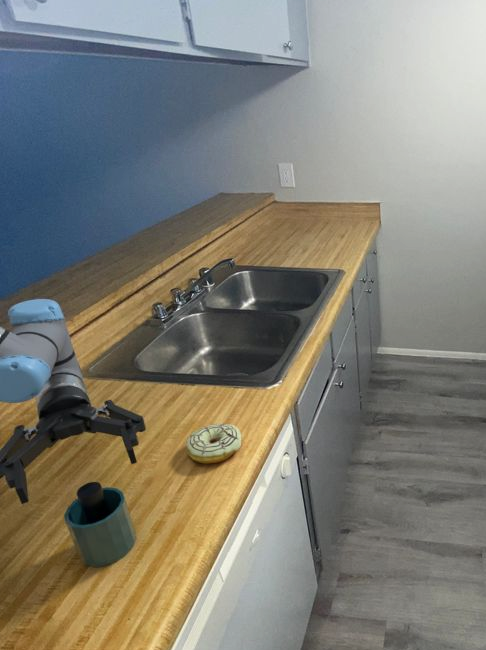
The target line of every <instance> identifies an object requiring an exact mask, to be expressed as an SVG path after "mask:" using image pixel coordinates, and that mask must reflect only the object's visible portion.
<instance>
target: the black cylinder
mask: <svg viewBox="0 0 486 650" xmlns="http://www.w3.org/2000/svg"><path fill="white" fill-rule="evenodd" d="M102 488H103V487H102V484H101V483H100V482H98V481H90V482H87V483H85V484H82V486H80V487H79V488H78V489H77V491H76V496H77V498H78V499H79V502H80V504H81V507H82V510H83V512H84V515H85V518H86V520H87V523H88V524H93V523H96V522H98V521H101V520H103V519H105V518H106V517H108V516H109V515H111V513H110V510H109V507H108V504H107V501H106V498H105V495H104V492H103V489H102Z"/></svg>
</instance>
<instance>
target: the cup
mask: <svg viewBox="0 0 486 650" xmlns="http://www.w3.org/2000/svg"><path fill="white" fill-rule="evenodd" d="M102 489H103V492H104V495H105V498H106V501H107V504H108V507H109V510H110V513H111V515H109V516H108V517H106V518H105V519H103V520H101V521H98V522H96V523H93V524H88V523H87V520H86V518H85V515H84V512H83V510H82V507H81V504H80V502H79V499H78V497H77V498H76V499H74V500H73V501H72V502H71V503H70V505H68V506H67V508H66V510H65V512H64V514H63V516H64V517H63V518H64V522H65V524H66V527H67V530H68V532H69V534H70V538H71V539H72V540H71V541H72V542H73V544H74V547H75V550H76V552H77V554H78V557H79V559H80V561H81V563H83V565H85V566H87V567H91V568H101V567H102V568H103V567H106V566H110V565H111V564H115V563H116V562H118V561H120V560H121V559H123V558H124V557H125V556H126V555H128V554H129V553H130V551H131V550H132V549H133V548H134V546H135V544H136V541H137V533H136V529H135V527H134V523H133V519H132V517H131V513H130V510H129V507H128V503H127V501H126V497H125V495H124V492H123V491H122V490H120V489H118V488H117V487H109V486H105V487H102Z"/></svg>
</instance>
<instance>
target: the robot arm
mask: <svg viewBox="0 0 486 650" xmlns="http://www.w3.org/2000/svg"><path fill="white" fill-rule="evenodd" d="M7 316H8V319H9V325H10V327H11V329H12V331H9V330H7V329H5V328H4V327H2V326H0V402H2V403H7V404H8V403H9V404H20V403H25V402H29V401H30V400H32V399H34V398H35V403H36V408H37V409H36V410H37V416H38V422H37V423H36V424H35V425H34V426H30V427H25V425H24V424H19V425H16V426H15V427H14V428H13V434H12V435H11V436H10V438H9V439H8V440H7V441H6V443H5V444H4V445H3V447H1V449H0V480H1V479H3V478H5V482H6V484H7V486H8V488H9V489H11V490H12V489H15V493H16V494H17V497H18V499H19V501H20V504H21V505H24V504H27V503H29V491H28V482H27V481H28V480H27V474H26V471H25V469H26V468H28V466H30V465H31V464H32V463H33V462H34V461H35V460H36V459H37V458H38V457H39V456H40V455H41V454H43V453H44V452H45V451H46V450H47V449H48V448H49V449H50V448H52V447H53V446H54V445H56V444H57V442H59V441H63V440H67V439H68V438H71V437H73V436H79V435H82V434H84V433H89V434H94V435H95V434H97V433H100V434H106V435H111V436H115V437H116V436H117V437H120V438H121V439H122V442H123V444H124V447H125V451H126V453H127V456H128V458H129V461H130V464H131V465H135V464H137V463H138V461H137V458H136V453H135V450H134V447H137V446H139V444H140V442H139V438H138V435H137V433H144V432H145V431H147V428H146V424H145V419H144V416H143V415H140V414H138V413H135V412H133V411H131V410H128V409H125V408H123V407H121V406H119V405H116V404H115V403H114V402H113V400H112V399H106V400H105V401H103V404H104V405H102V406H99V407H96V408H95V407H94V406H92V403H91V400H90V397H89V394H88V390H87V387H86V384H85V382H84V378H83V373H82V369H81V366H80V363H79V361H78V358H77V354H76V351H75V349H74V347H73V343H72V340H71V335H70V332H69V330H68V326H67V323H66V316H65V315H64V313H63V311H62V308H61V306H60V304H59V303H58V302H57V301H56V300H52V299H48V298H38V299H37V298H35V299H30V300H25V301H21V302H19V303H16V304H14V305H13V306H11V307H9V309H8V311H7Z"/></svg>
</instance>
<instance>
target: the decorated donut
mask: <svg viewBox="0 0 486 650" xmlns="http://www.w3.org/2000/svg"><path fill="white" fill-rule="evenodd" d="M242 437H243V436H242V433H241V430H240V429H239V428H238V427H237V426H236V425H233V424H230V423H229V424H228V423H212V424H209V425H205V426H203V427H200V428H199V429H197V430H195V431H193V432H192V433H191V434H190V436H188V438H187V440H186V441H185V449H186V453H187V454H188V457H190V458H191V460H193V461H195V462H197V463H199V464H200V463H201V464H204V465H207V464H216V463H220V462H223V461H225V460H227V459H229V458H230V457H231V456H232V455H233V454H234V453H236V452H237V451H239V450H240V448H241V446H242V439H243V438H242Z"/></svg>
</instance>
